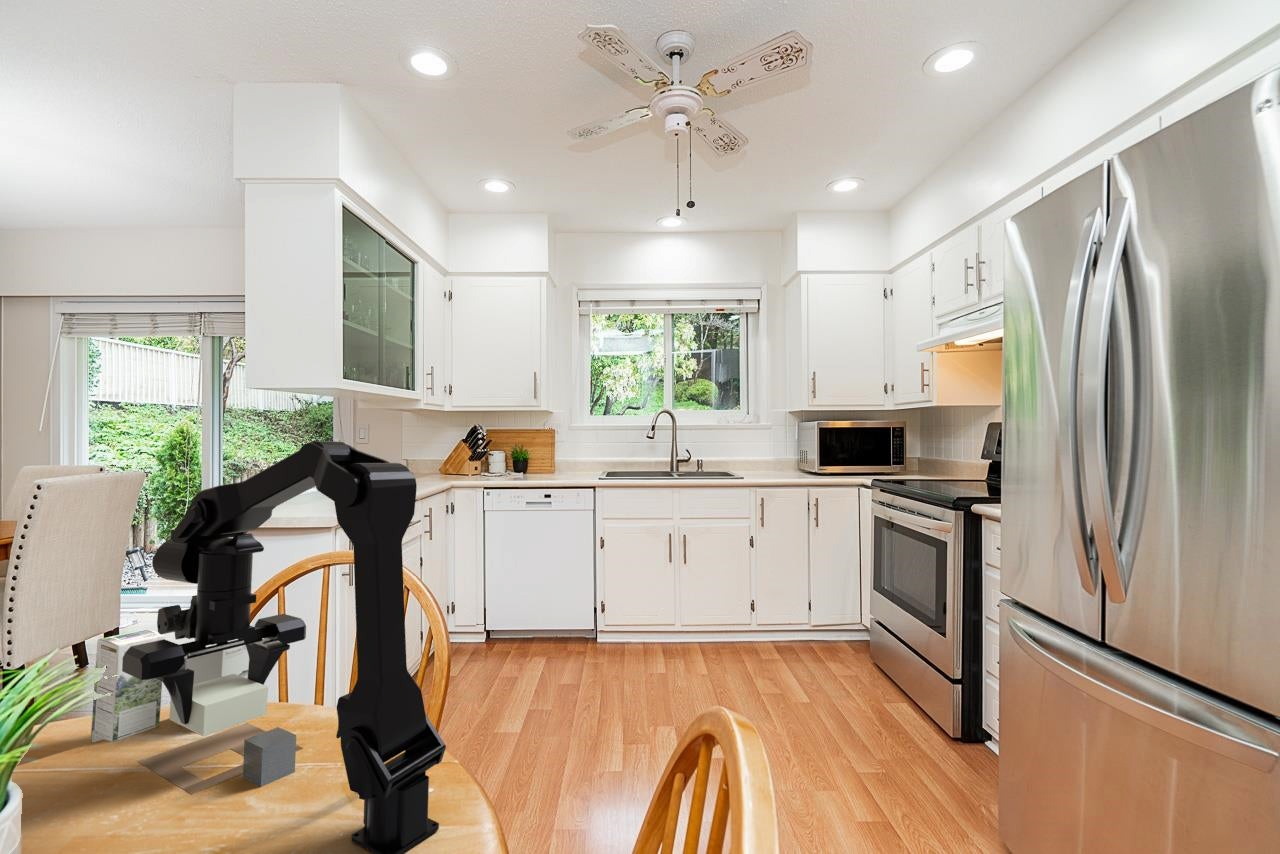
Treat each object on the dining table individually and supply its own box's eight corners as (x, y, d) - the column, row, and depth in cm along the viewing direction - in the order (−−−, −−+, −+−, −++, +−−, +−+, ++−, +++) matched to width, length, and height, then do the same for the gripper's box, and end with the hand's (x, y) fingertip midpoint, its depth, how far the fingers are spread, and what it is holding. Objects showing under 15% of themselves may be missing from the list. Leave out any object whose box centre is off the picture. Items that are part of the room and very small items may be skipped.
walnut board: (302, 759, 81) (303, 747, 81) (190, 807, 70) (191, 794, 70) (247, 733, 88) (247, 723, 88) (137, 773, 77) (137, 761, 77)
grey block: (294, 784, 75) (296, 734, 75) (260, 800, 71) (262, 748, 72) (276, 775, 77) (278, 727, 77) (242, 790, 73) (244, 739, 74)
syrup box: (138, 727, 89) (143, 627, 90) (160, 736, 87) (165, 633, 87) (89, 744, 84) (95, 637, 85) (111, 753, 81) (117, 644, 82)
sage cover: (266, 714, 78) (268, 686, 78) (203, 736, 71) (204, 706, 72) (232, 699, 82) (233, 673, 82) (169, 719, 76) (171, 690, 76)
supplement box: (217, 740, 86) (221, 649, 86) (173, 735, 87) (178, 645, 88) (259, 718, 93) (263, 634, 93) (219, 713, 94) (222, 631, 95)
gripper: (266, 569, 90) (261, 676, 89) (106, 592, 74) (99, 724, 73) (310, 577, 84) (305, 693, 83) (147, 605, 68) (140, 748, 67)
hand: (219, 712), depth 77 cm, fingers closed on sage cover, 7 cm apart
